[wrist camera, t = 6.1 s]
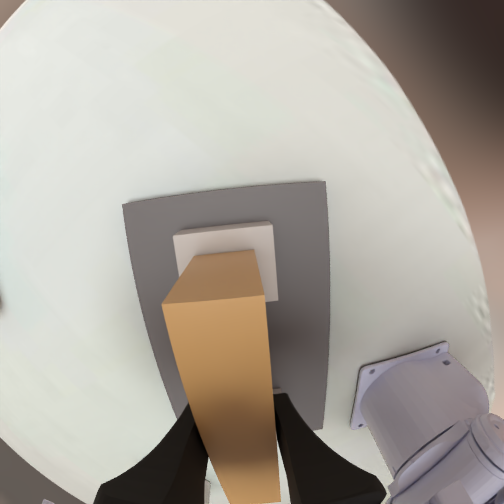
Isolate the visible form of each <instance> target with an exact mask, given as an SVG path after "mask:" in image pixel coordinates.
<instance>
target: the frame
mask: <svg viewBox="0 0 504 504" xmlns="http://www.w3.org/2000/svg"><path fill="white" fill-rule="evenodd" d="M162 309H163V313H164V317H165V322H166V326H167V330H168V334H169V338H170V341H171V345H172V349H173V353H174V356H175V360H176V363H177V367H178V370H179V373H180V377H181V380H182V383H183V387H184V390H185V393H186V396H187V399H188V402H189V405H190V408H191V411H192V414H193V417H194V419H195V422H196V425H197V428H198V430H199V433H200V436H201V438H202V441H203V443H204V446H205V449H206V451H207V453H208V456H209V458H210V461H211V463H212V466H213V468H214V470H215V472H216V475H217V477H218V479H219V481H220V484H221V486H222V488H223V490H224V492H225V494H226V496H227V499H228V501H229V503H230V504H262V503H273V502H281V496H280V481H279V467H278V453H277V440H276V427H275V414H274V401H273V388H272V376H271V364H270V352H269V340H268V328H267V317H266V306H265V295H264V290H263V286H262V281H261V277H260V273H259V268H258V264H257V259H256V255H255V250H245V251H236V252H226V253H216V254H207V255H197V256H194V257H193V258H192V259H191V261H190V262H189V264H188V265H187V267H186V268H185V270H184V271H183V273H182V274H181V276H180V277H179V278H178V280H177V281H176V283H175V284H174V286H173V287H172V289H171V290H170V292H169V293H168V295H167V296H166V298H165V299H164V301H163V303H162Z"/></svg>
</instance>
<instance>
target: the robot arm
mask: <svg viewBox="0 0 504 504" xmlns="http://www.w3.org/2000/svg"><path fill="white" fill-rule="evenodd" d="M448 348H449V344H448V343H447V342H443V343H440V344H438V345H435V346H432V347H429V348H426V349H423V350H420V351H417V352H414V353H411V354H408V355H404V356H401V357H398V358H394V359H391V360H387V361H383V362H380V363H376V364H372V365H368V366H365V367H363V368H362V369H361V370H360V373H359V380H358V386H357V392H356V398H355V403H354V409H353V414H352V419H351V423H350V428H351V429H352V430H355V429H359V428H363V427H366V426H368V427H369V429H370V431H371V434H372V436H373V438H374V440H375V442H376V444H377V446H378V448H379V450H380V452H381V454H382V456H383V458H384V460H385V462H386V464H387V466H388V468H389V470H390V473H391V475H392V477H393V479H394V481H393V482H392V483H391V484H390V485H389V486H388V489H389V491H390V494H391V496H390V498H389V499H388V500H387V502H386V503H385V504H504V420H503V419H502V418H500V417H499V416H497V415H494V414H492V413H489V400H488V396H487V393H486V390H485V388H484V387H483V385H482V384H481V383H480V382H479V381H478V380H477V379H476V378H475V377H474V376H473V375H472V374H471V373H470V372H469V371H468V370H467V369H466V368H465V367H463V366H462V365H461V364H460V363H459V362H458V361H457V360H456V359H455V358H454V357H452V356H451V355H450V354H449V353H448ZM372 369H373V370H372ZM371 370H372V371H371ZM273 401H274V414H275V427H276V435H277V441H278V445H279V449H280V452H281V456H282V460H283V464H284V468H285V471H286V475H287V480H288V487H289V494H290V501H291V504H381V502H382V501H383V500H384V498H385V497H386V494H387V493H386V490H385V488H384V486H383V485H382V483H381V482H380V481H379V479H378V478H377V477H376V476H375V475H373V474H371V473H368V472H366V471H364V470H362V469H360V468H359V467H357V466H355V465H353V464H352V463H350V462H349V461H347V460H346V459H344V458H343V457H341V456H340V455H339V454H337V453H336V452H334V451H333V450H332V449H331V448H330V447H328V446H327V445H326V444H325V443H324V442H323V441H322V440H321V439H320V438H319V437H318V436H317V435H316V434H315V433H314V432H313V431H312V430H311V429H310V427H309V426H308V425H307V424H306V422H305V421H304V420H303V418H302V417H301V416H300V414H299V413H298V412H297V410H296V408H295V407H294V405H293V403H292V402H291V400H290V398H289V396H288V394H287V393H279V394H273ZM208 457H209V456H208V453H207V451H206V449H205V446H204V443H203V441H202V438H201V436H200V433H199V430H198V428H197V425H196V422H195V419H194V417H193V414H192V411H191V408H190V405H189V402H188V404H187V405H186V407H185V409H184V410H183V412H182V413H181V415H180V417H179V418H178V420H177V421H176V422H175V424H174V425H173V427H172V428H171V429H170V431H169V432H168V433H167V434H166V436H165V437H164V438H163V439H162V441H161V442H160V443H159V444H158V445H157V446H156V447H155V448H154V449H153V450H152V451H151V452H150V453H149V454H148V455H147V456H146V457H144V458H143V459H142V460H141V461H140V462H139V463H137V464H136V465H135V466H133V467H132V468H130V469H129V470H127V471H126V472H124V473H123V474H121V475H119V476H118V477H116V478H114V479H112V480H110V481H108V482H106V483H103V484H101V486H100V488H99V490H98V492H97V495H96V497H95V500H94V503H93V504H204V491H205V476H206V470H207V464H208ZM42 504H54V503H52V502H50V501H48V500H46V499H44V500H43V502H42Z"/></svg>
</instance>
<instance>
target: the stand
mask: <svg viewBox="0 0 504 504" xmlns="http://www.w3.org/2000/svg"><path fill="white" fill-rule="evenodd" d="M122 207H123V215H124V222H125V229H126V236H127V242H128V248H129V253H130V259H131V264H132V269H133V274H134V279H135V284H136V288H137V293H138V297H139V301H140V305H141V309H142V313H143V317H144V321H145V325H146V328H147V332H148V336H149V339H150V343H151V346H152V349H153V353H154V356H155V359H156V362H157V365H158V368H159V371H160V374H161V377H162V380H163V383H164V386H165V389H166V392H167V394H168V397H169V400H170V402H171V405H172V408H173V410H174V413H175V415H176V418H177V420H178V418H179V417H180V415H181V413H182V412H183V410H184V409H185V407H186V405H187V404H188V399H187V396H186V393H185V390H184V387H183V383H182V380H181V377H180V373H179V370H178V367H177V363H176V360H175V356H174V353H173V349H172V345H171V341H170V338H169V334H168V330H167V326H166V322H165V317H164V313H163V309H162V303H163V301H164V299H165V298H166V296H167V295H168V293H169V292H170V290H171V289H172V287H173V286H174V284H175V283H176V281H177V280H178V278H179V277H180V276H181V274H182V273H183V271H184V270H185V268H186V267H187V265H188V264H189V262H190V261H191V259H192V258H193V257H194V256H197V255H207V254H216V253H226V252H236V251H245V250H255V255H256V259H257V264H258V268H259V273H260V277H261V281H262V286H263V290H264V295H265V306H266V317H267V328H268V340H269V352H270V364H271V376H272V388H273V394H279V393H287V394H288V396H289V398H290V400H291V402H292V403H293V405H294V407H295V408H296V410H297V412H298V413H299V414H300V416H301V417H302V418H303V420H304V421H305V422H306V424H307V425H308V426H309V427H310V429H311V430H312V431H314V430H319V429H323V420H324V410H325V399H326V387H327V373H328V356H329V331H330V251H329V226H328V208H327V194H326V181H322V182H304V183H288V184H275V185H263V186H252V187H242V188H232V189H223V190H214V191H206V192H198V193H190V194H183V195H176V196H169V197H162V198H156V199H150V200H144V201H138V202H132V203H126V204H122ZM276 440H277V435H276Z"/></svg>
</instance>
